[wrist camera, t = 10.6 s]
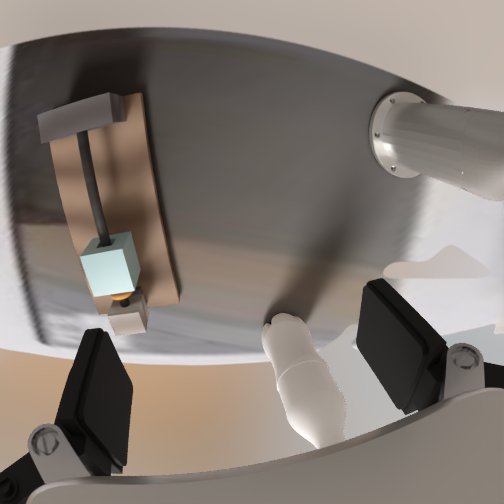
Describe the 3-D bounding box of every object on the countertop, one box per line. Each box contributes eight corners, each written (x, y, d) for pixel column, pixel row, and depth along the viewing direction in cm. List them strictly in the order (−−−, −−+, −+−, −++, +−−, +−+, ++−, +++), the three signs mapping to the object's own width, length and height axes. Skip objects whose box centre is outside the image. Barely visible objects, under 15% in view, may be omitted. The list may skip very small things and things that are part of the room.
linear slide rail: (51, 118, 28) (22, 121, 22) (142, 93, 30) (129, 87, 23) (101, 308, 40) (89, 341, 33) (179, 297, 42) (178, 331, 35)
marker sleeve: (92, 238, 33) (79, 256, 28) (130, 231, 33) (122, 248, 29) (103, 275, 35) (93, 297, 31) (140, 269, 36) (134, 291, 31)
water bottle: (250, 322, 46) (297, 472, 23) (292, 299, 45) (366, 440, 23) (270, 350, 49) (318, 485, 27) (308, 329, 49) (376, 458, 26)
